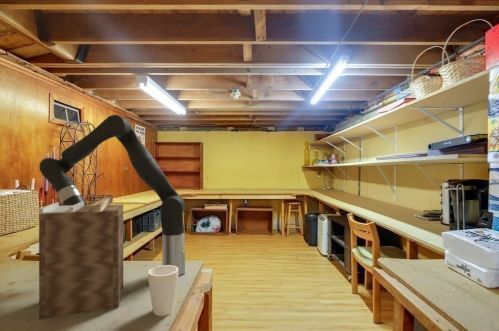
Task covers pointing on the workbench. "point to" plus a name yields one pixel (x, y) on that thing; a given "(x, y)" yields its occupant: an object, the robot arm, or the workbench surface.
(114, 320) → the workbench surface
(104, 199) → the beige wooden rod
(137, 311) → the workbench surface
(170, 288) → the foam cup
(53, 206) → the trough
